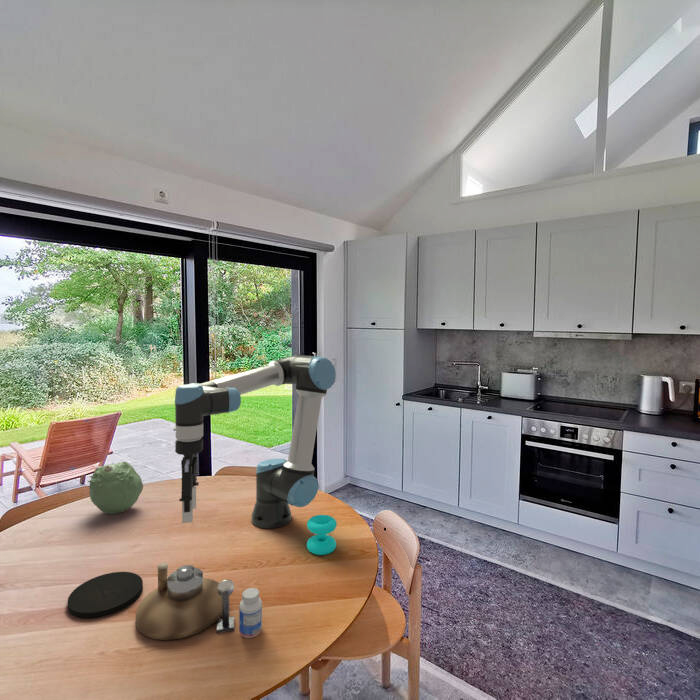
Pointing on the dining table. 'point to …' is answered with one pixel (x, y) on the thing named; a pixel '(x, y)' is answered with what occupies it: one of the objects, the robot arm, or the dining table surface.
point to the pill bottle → (250, 613)
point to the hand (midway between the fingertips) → (189, 514)
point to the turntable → (177, 610)
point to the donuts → (321, 534)
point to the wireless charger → (105, 595)
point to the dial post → (225, 606)
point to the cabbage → (115, 487)
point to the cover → (185, 583)
